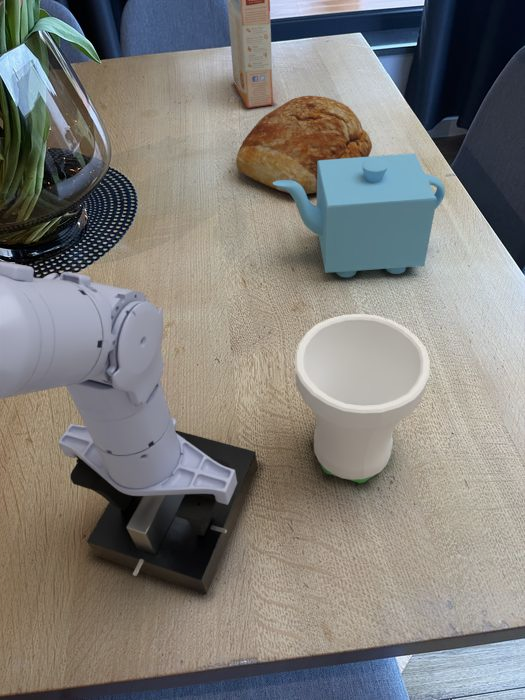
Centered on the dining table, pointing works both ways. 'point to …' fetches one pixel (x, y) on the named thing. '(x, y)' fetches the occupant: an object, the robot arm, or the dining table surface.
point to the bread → (301, 141)
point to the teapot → (370, 212)
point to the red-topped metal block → (153, 520)
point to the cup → (359, 389)
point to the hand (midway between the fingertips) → (165, 512)
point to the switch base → (180, 528)
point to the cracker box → (251, 50)
